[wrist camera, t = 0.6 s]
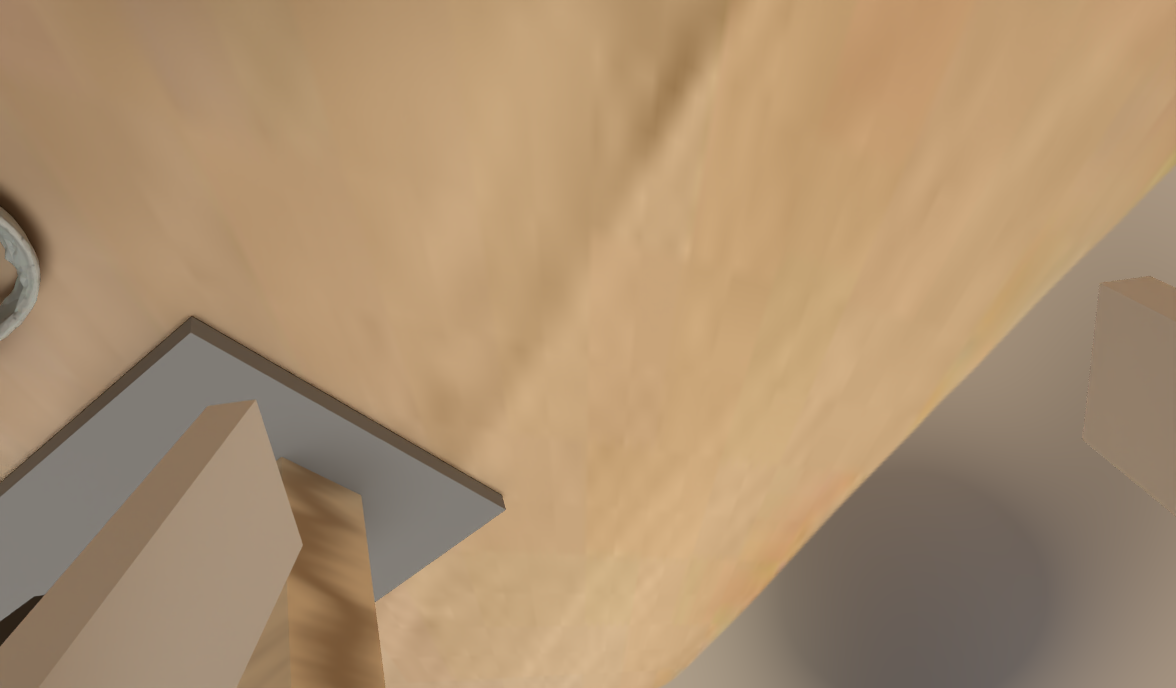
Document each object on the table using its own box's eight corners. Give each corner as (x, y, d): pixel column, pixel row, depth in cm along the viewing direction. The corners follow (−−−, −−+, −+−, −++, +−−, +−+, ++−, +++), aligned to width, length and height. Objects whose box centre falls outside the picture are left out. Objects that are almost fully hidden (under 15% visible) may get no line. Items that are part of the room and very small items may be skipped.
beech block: (208, 514, 39) (195, 827, 29) (281, 456, 38) (294, 761, 28) (291, 547, 43) (305, 837, 33) (361, 495, 42) (396, 779, 32)
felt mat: (-134, 599, 38) (-141, 618, 37) (191, 316, 33) (190, 332, 32) (233, 686, 51) (233, 702, 51) (501, 495, 47) (505, 509, 46)
